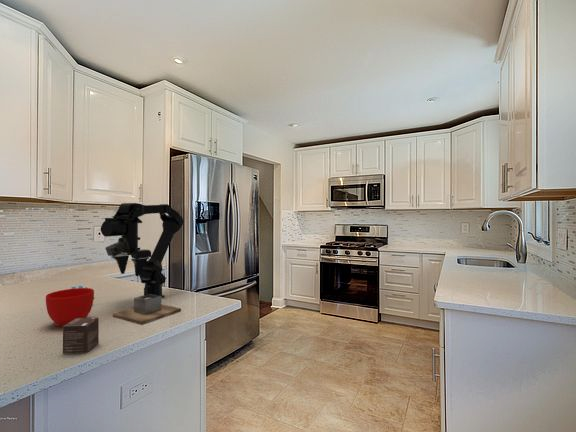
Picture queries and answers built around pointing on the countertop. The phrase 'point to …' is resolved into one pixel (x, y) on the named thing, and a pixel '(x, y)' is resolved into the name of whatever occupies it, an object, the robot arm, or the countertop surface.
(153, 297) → the square tube
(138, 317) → the post base
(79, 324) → the box
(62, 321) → the ceramic cup
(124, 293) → the countertop surface
